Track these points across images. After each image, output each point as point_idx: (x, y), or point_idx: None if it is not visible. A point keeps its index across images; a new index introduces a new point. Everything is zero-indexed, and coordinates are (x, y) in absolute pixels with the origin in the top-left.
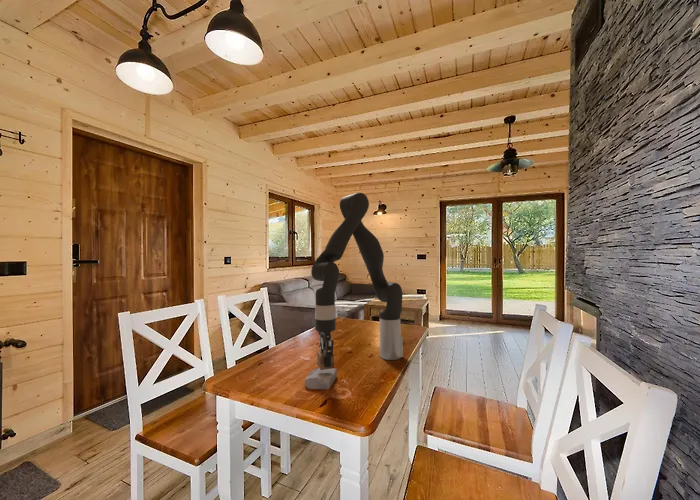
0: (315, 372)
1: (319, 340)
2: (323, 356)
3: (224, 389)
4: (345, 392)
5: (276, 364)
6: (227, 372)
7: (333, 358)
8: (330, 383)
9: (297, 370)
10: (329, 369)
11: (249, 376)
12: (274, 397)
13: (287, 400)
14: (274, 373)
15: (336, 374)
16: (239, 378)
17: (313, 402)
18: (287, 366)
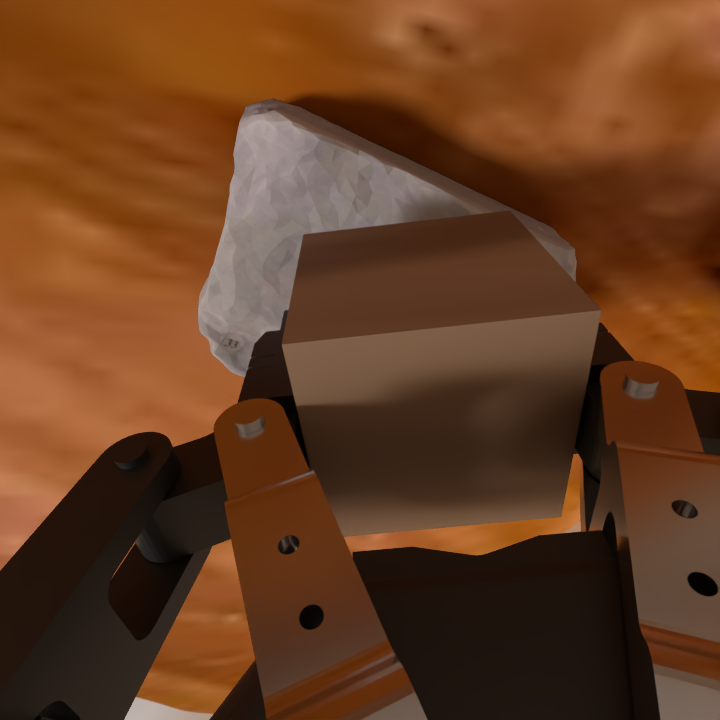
0: None
1: (134, 673)
2: (561, 466)
3: None
4: (698, 64)
5: (4, 552)
6: (151, 693)
7: (564, 281)
8: (526, 219)
9: (110, 440)
10: (298, 220)
11: (207, 632)
12: (505, 533)
13: (573, 483)
14: None
15: (298, 109)
16: (229, 656)
17: (689, 357)
18: (32, 498)
